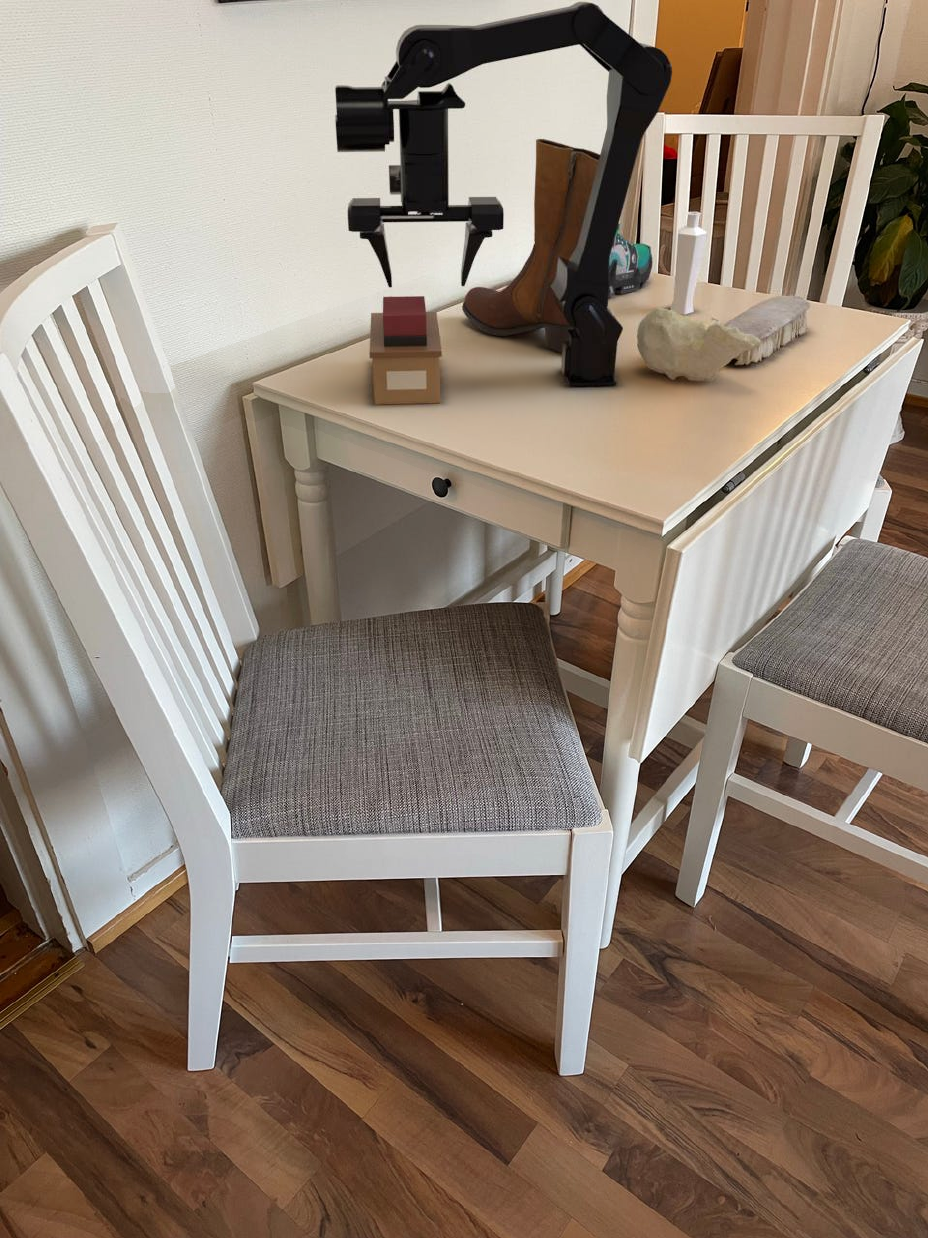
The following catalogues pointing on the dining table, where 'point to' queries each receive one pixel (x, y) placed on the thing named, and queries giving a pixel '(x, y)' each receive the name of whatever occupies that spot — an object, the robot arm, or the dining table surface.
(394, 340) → the dark red two-tone block
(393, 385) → the shoebox
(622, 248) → the sneaker
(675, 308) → the perfume bottle
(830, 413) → the dining table surface
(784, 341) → the shoe brush
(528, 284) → the boot
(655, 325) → the beige lumpy irregular piece
